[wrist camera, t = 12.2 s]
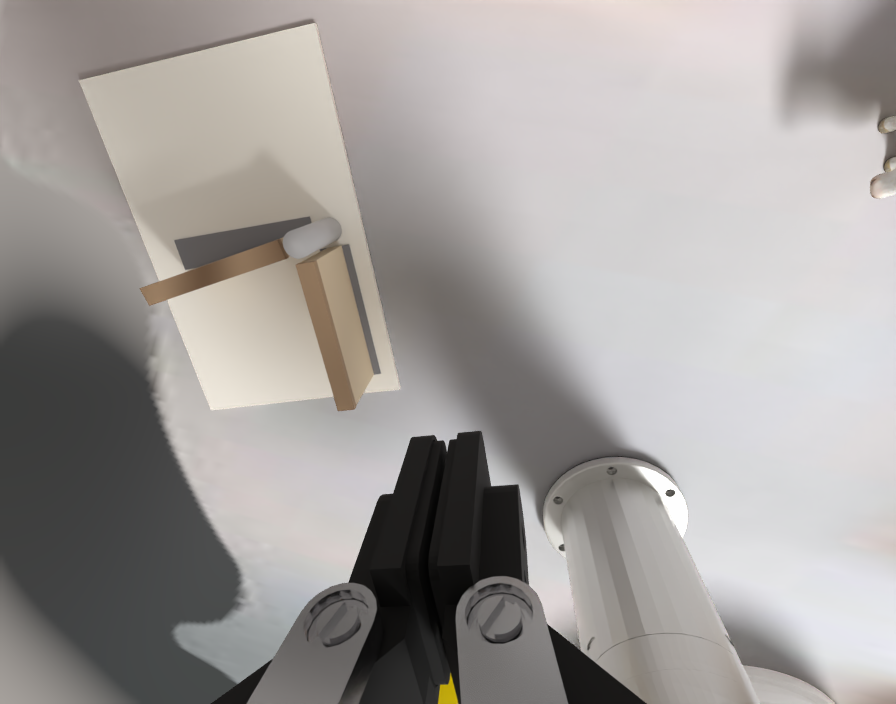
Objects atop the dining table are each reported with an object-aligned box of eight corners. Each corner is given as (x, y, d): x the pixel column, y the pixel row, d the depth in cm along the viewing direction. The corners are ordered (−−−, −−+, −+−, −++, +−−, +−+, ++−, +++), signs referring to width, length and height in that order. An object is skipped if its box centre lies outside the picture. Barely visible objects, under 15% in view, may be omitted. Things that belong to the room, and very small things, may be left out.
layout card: (400, 387, 41) (382, 429, 35) (213, 408, 44) (165, 450, 38) (316, 24, 32) (270, -9, 25) (83, 81, 34) (-12, 64, 28)
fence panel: (308, 227, 36) (277, 239, 31) (315, 244, 36) (285, 259, 31) (187, 270, 38) (139, 288, 33) (195, 285, 39) (149, 305, 34)
